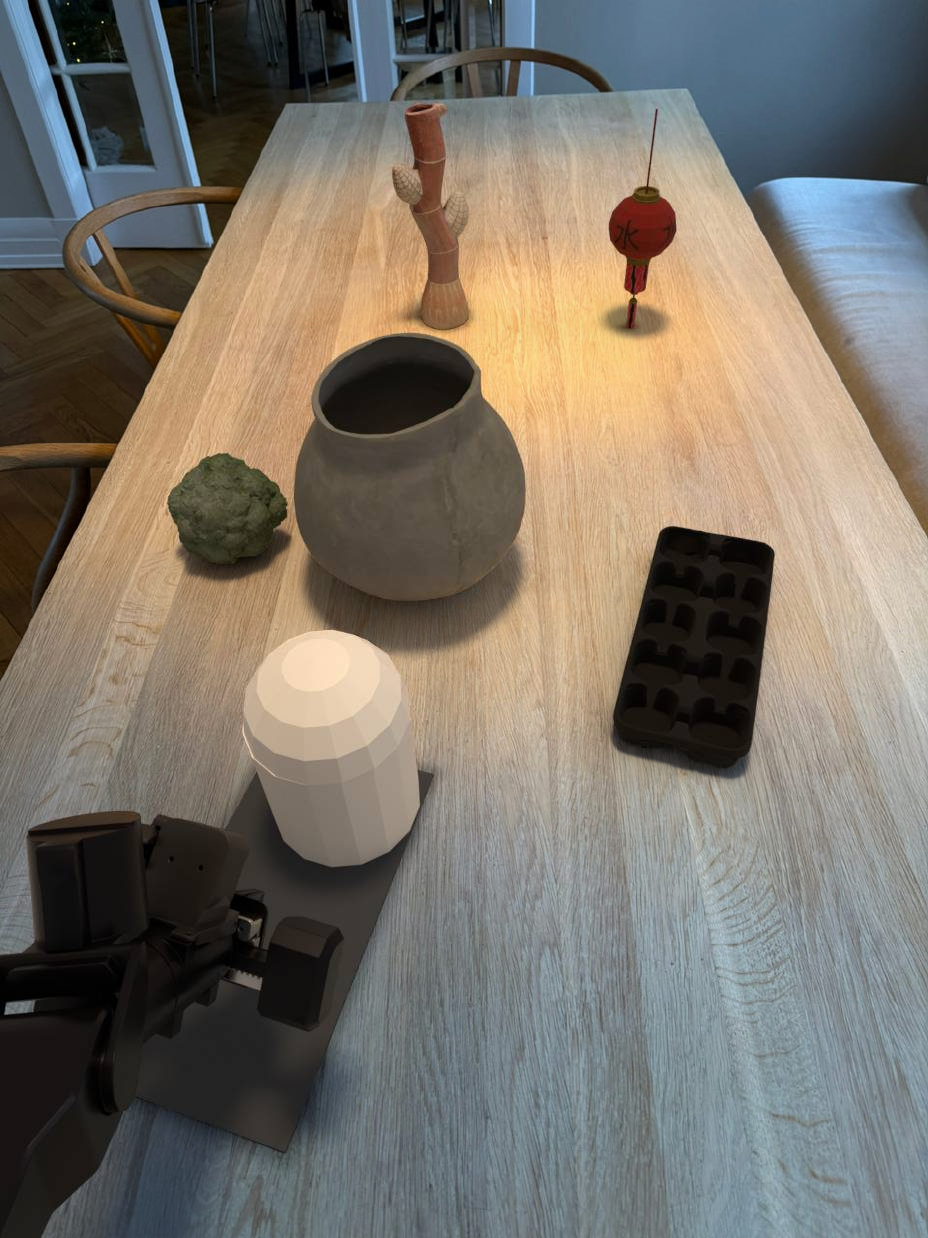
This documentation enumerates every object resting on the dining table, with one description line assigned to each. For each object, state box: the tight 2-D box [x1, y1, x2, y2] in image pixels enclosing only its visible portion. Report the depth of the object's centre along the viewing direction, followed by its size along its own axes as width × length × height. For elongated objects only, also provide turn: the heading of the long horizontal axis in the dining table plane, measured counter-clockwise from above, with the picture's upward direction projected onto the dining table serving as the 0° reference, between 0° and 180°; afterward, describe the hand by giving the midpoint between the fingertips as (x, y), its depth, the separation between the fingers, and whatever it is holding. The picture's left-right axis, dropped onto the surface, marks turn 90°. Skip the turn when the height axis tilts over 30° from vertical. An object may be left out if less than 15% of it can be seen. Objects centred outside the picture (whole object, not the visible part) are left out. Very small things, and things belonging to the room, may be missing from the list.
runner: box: [135, 769, 435, 1154], centre depth 73 cm, size 32×16×1 cm, turn 162°
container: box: [242, 629, 420, 867], centre depth 73 cm, size 13×13×20 cm
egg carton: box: [612, 525, 776, 769], centre depth 89 cm, size 18×30×4 cm, turn 174°
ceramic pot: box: [293, 332, 527, 602], centre depth 91 cm, size 24×24×25 cm
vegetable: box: [166, 452, 289, 565], centre depth 101 cm, size 12×13×15 cm
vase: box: [391, 102, 469, 330], centre depth 125 cm, size 10×7×30 cm
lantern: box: [608, 108, 678, 330], centre depth 122 cm, size 10×10×30 cm
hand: (259, 896), depth 65 cm, fingers closed
